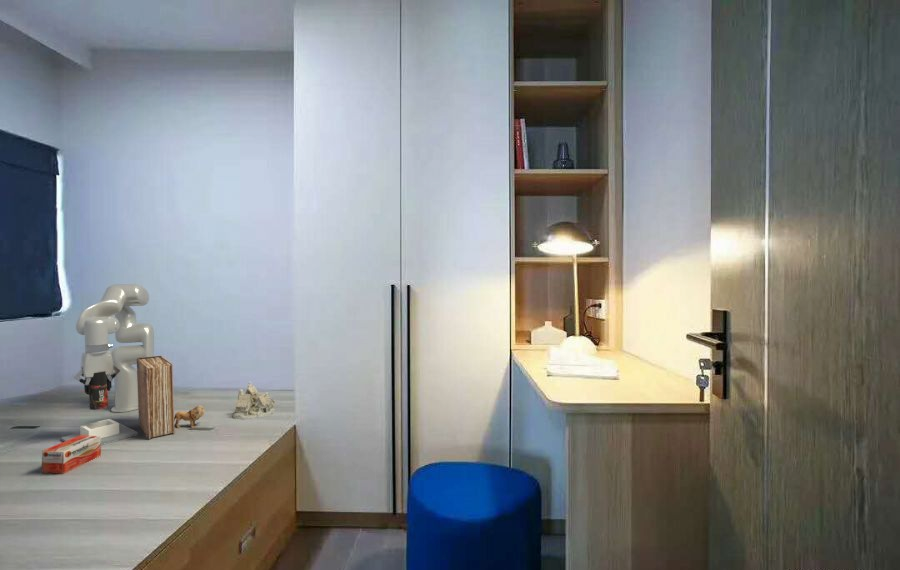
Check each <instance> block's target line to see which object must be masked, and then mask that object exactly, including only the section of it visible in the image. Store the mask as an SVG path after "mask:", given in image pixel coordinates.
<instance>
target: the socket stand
mask: <svg viewBox="0 0 900 570" xmlns="http://www.w3.org/2000/svg"><path fill="white" fill-rule="evenodd" d="M80 435H91V436H100V437H101V444H103V445H105V444H104V443H107V444H109V443H108V442H110V443H113V442H112V441H114V442H116V441H115V440H118V441H120V440H119V439H121V440H124V439H123V438H125V439H128V438H127V437H129V438H132V437H136V436H138V435H139V433H138V431H137V430H135V429H132V428H130V427H128V426H126V425H123V424H122V423H119V422H117V421H115V420H113V419H111V418H107V419H103V420H99V421H93V422H89V423H84V424H82V425H79V432H78V433H73V434H69V435H66V436H61V437H60V440H61V441H62V440H63V441H64V442H65V441H67V440H70V439H72V438H75V437H77V436H80ZM135 435H136V436H135ZM131 436H132V437H131ZM63 441H62V442H63Z"/></svg>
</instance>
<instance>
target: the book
mask: <svg viewBox="0 0 900 570" xmlns="http://www.w3.org/2000/svg"><path fill="white" fill-rule="evenodd" d="M173 366H174V365H173V363H172V362H171V361H169V360H168V359H167V358H165V357H163V356H162V355H156V356H155V355H154V357H146V358H138V359H137V364H136V371H137V383H138V409H137V410H138V425H139V427H140V428H141V430H142V431H143V433H144V435H145V434H146V435H145V436H146V438H147V439H148V441H150V440H151V439H152V438H157V437H161V436H166V435H171V434H173V435H175V433H176V432H175V431H176V430H175V421H174V417H175V398H174V394H175V393H174V368H173Z"/></svg>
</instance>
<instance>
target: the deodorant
mask: <svg viewBox="0 0 900 570" xmlns="http://www.w3.org/2000/svg"><path fill="white" fill-rule="evenodd" d="M89 385H91V394H90V395H88V397H89V399H88V400H89V410H91V411H95V410H102V409H106V408H108V407H109V400H108V399H109V398H108V397H109V396H108V395H109V394H108V392H109V391H107V375H106V371H104V372H98V373H94V375H93V377H92V378H91V380H90V382H89Z"/></svg>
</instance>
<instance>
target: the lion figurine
mask: <svg viewBox="0 0 900 570" xmlns="http://www.w3.org/2000/svg"><path fill="white" fill-rule="evenodd" d="M204 413H205V408H204V407H203V406H202V405H197V406H195V407H194V408H192V409H189V411H187V412H186V411H177V412H176V413H174V426H176V428H177V429H179V428H181V425H180V424H179V423H180V421H181V420H182V421H185V422H188V421H189V424H190V428H191V429H194V428H195V426H197V424H196V421H199V420H200V418H202V417H203V416H204Z"/></svg>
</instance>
